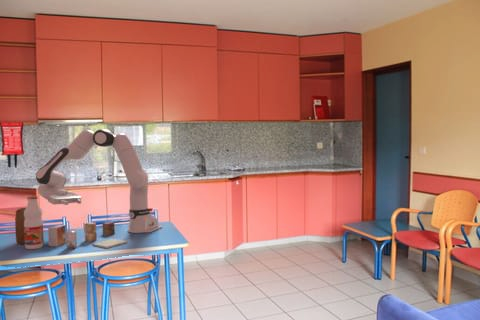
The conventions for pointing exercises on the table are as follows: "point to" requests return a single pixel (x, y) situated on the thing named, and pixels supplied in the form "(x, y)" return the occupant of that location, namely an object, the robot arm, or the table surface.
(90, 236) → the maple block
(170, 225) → the table surface
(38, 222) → the fruit juice
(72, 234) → the metal can
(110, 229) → the walnut block
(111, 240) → the beige flat square plate
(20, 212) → the block
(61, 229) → the small box
